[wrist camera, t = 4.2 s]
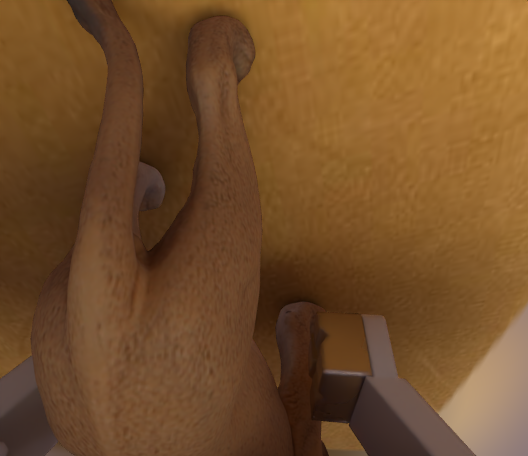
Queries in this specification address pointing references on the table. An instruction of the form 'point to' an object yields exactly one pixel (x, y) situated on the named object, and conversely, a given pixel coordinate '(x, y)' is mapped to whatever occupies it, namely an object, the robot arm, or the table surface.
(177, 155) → the table surface
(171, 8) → the table surface
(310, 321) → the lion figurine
